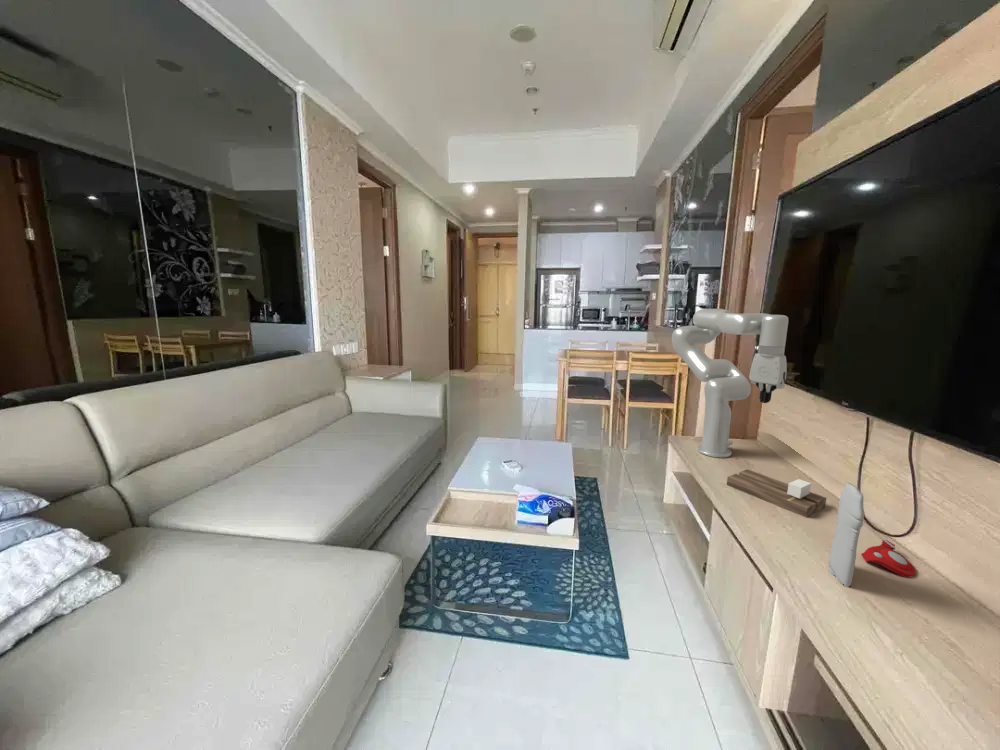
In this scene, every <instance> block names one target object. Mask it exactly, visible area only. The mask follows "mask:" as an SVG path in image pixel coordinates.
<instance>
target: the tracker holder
mask: <svg viewBox="0 0 1000 750" xmlns="http://www.w3.org/2000/svg"><path fill="white" fill-rule="evenodd" d="M881 540H882V541H881V544H880V545H876V546H875V545H874V546H870V547H868V548H867V549H865V550H864V552H863V553H861V554H860V555H861V556H862V558H863V560H864V561H865V562H866V563H870V562H872V563H874V564H875V563H876V564H878V565H881V566H882V567H884V568H886V569H888V570H889V571H891V572H894V573H895V574H897V575H899V576H902V577H905V578H910V577H909V576H912V577H914V576H915V575H916V574H917V571H916V568H915V566H914V564H912V563H911V561H909V560H908V559H907V558H906V557H905V556H904V555H902V554H900V553H899V552H897V551H895V550H896V546H895V544H894V543H892V542H891V541H889V540H887V539H885V538H883V537H881ZM913 575H914V576H913Z"/></svg>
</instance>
